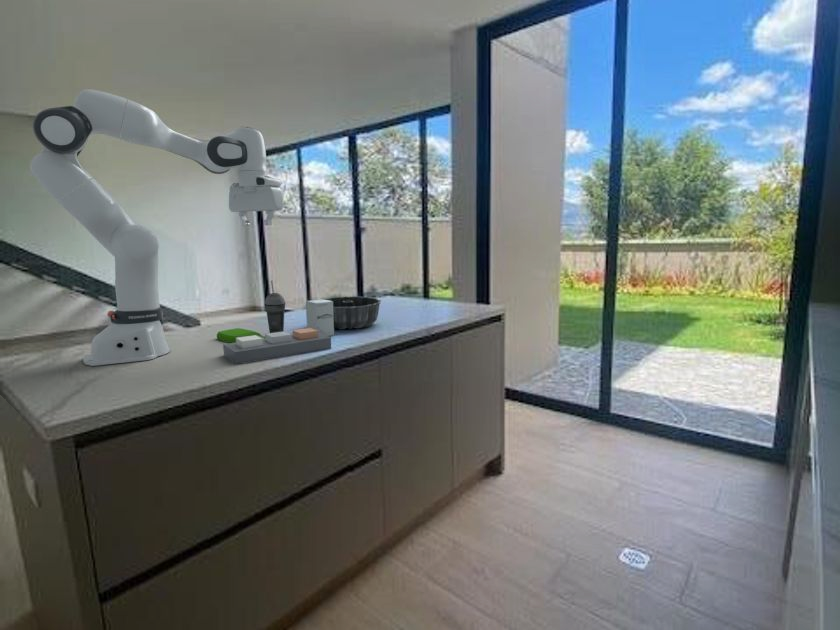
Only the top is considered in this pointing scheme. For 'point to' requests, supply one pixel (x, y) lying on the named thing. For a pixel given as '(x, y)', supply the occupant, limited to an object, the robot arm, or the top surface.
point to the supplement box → (320, 316)
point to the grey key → (278, 337)
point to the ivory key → (249, 341)
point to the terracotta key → (305, 333)
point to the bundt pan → (354, 311)
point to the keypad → (275, 349)
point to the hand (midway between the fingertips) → (257, 225)
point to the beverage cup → (275, 311)
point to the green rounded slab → (235, 334)
